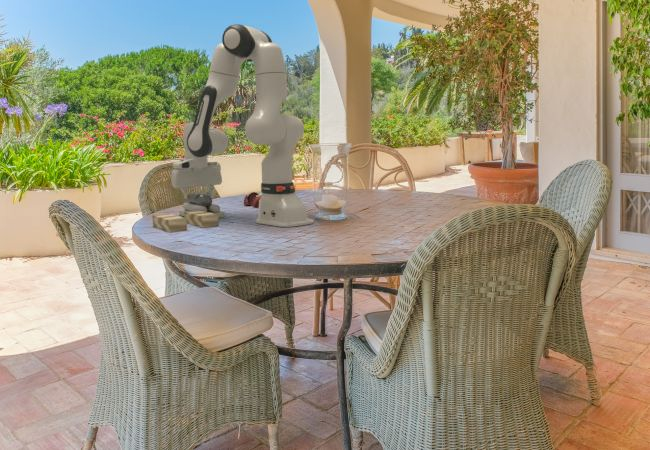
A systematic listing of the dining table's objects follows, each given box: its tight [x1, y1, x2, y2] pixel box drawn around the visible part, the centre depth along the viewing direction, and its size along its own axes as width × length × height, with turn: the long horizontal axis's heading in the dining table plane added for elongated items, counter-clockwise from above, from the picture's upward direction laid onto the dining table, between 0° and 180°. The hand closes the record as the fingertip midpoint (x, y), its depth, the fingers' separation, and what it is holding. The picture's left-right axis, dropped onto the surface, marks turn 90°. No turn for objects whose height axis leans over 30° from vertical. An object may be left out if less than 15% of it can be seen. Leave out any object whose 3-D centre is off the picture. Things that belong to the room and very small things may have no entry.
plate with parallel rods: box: [178, 201, 225, 219], centre depth 224 cm, size 16×12×5 cm
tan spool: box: [151, 210, 220, 233], centre depth 203 cm, size 16×18×4 cm
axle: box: [187, 192, 213, 208], centre depth 224 cm, size 12×5×5 cm, turn 37°
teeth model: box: [243, 191, 262, 209], centre depth 251 cm, size 8×6×12 cm
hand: (198, 197), depth 225 cm, fingers open, 8 cm apart
